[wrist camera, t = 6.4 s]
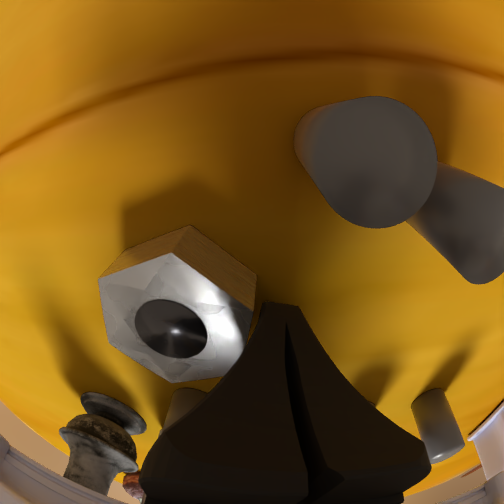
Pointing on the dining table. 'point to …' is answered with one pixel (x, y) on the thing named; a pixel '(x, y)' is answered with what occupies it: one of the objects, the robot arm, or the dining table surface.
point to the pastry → (133, 485)
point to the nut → (179, 305)
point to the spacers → (398, 213)
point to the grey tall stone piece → (101, 442)
